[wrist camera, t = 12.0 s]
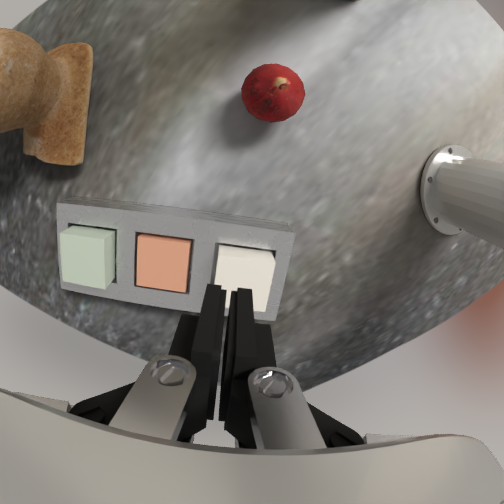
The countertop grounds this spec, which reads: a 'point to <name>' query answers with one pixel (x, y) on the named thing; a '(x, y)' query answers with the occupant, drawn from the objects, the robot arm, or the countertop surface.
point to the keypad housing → (178, 225)
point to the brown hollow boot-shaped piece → (45, 96)
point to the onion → (273, 92)
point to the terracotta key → (163, 261)
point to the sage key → (88, 256)
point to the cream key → (245, 273)
